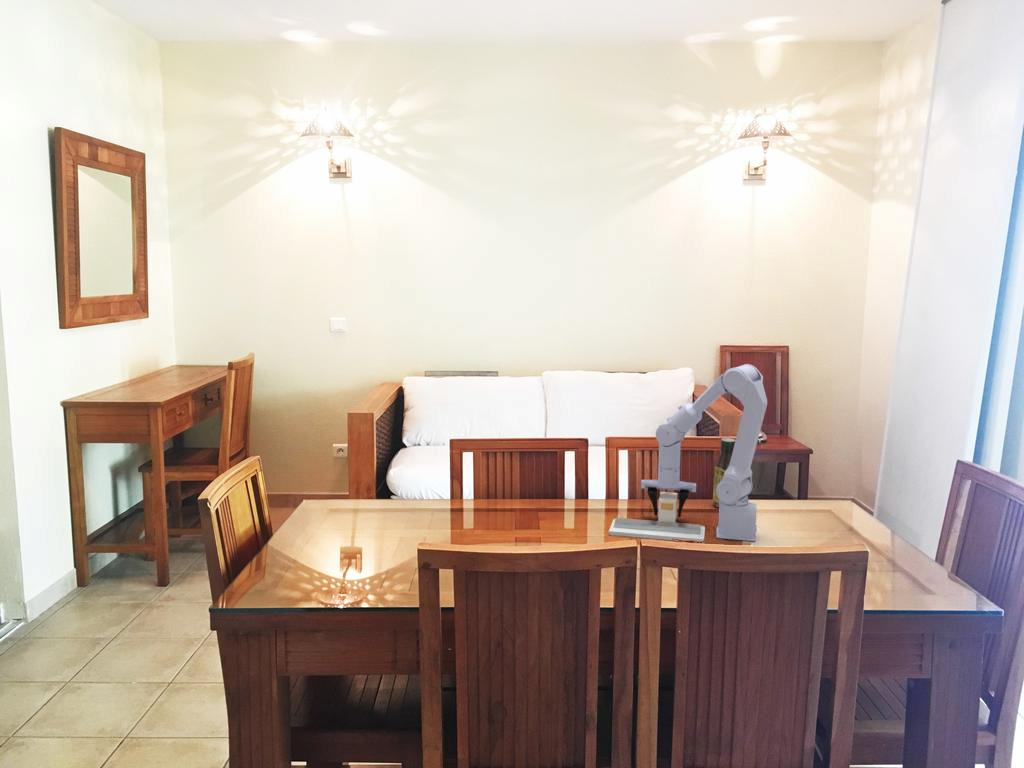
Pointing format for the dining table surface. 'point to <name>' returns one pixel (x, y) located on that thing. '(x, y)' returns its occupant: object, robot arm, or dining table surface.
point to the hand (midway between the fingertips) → (667, 515)
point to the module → (667, 507)
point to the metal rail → (657, 526)
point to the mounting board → (656, 534)
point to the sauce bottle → (722, 465)
